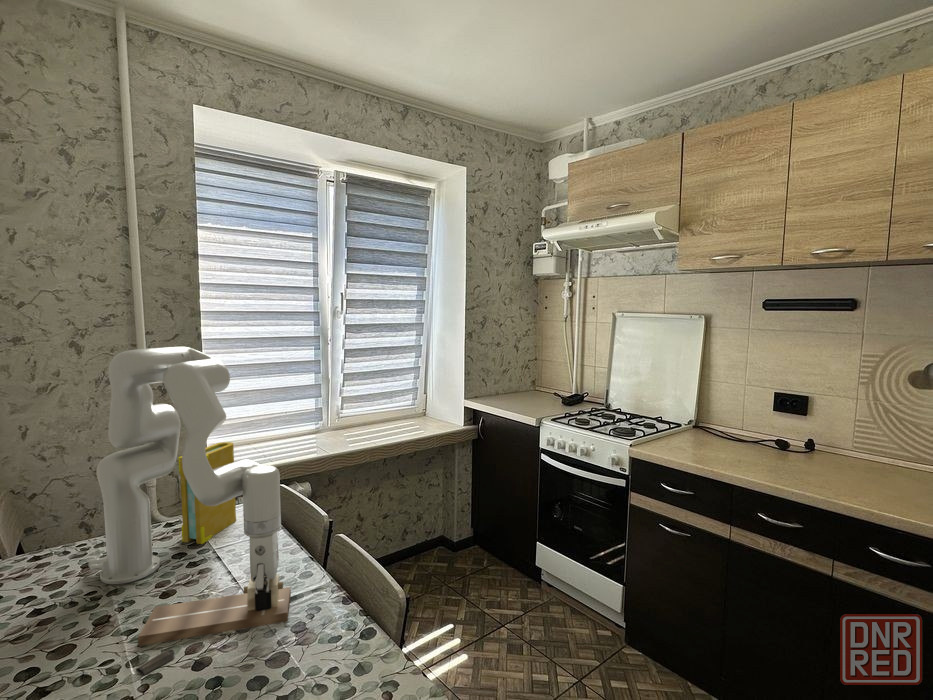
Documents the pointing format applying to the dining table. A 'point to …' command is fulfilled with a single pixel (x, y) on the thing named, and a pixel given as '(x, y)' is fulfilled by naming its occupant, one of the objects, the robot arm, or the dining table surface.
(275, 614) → the board
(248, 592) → the cream knobbed box
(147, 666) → the block
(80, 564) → the dining table surface
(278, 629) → the dining table surface
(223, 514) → the book
